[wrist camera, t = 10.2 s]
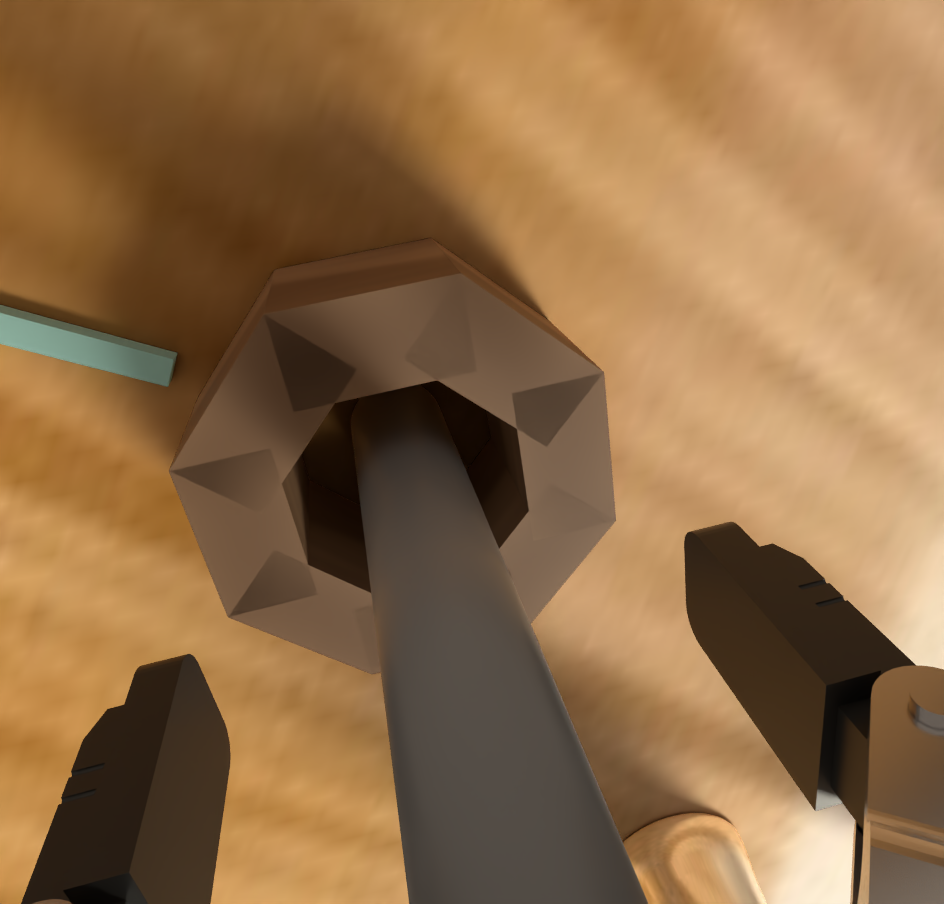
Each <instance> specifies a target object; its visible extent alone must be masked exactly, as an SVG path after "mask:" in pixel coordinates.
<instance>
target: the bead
mask: <svg viewBox="0 0 944 904" xmlns="http://www.w3.org/2000/svg"><path fill="white" fill-rule="evenodd" d="M436 380H438V381H439V382H441V383H443V384H444V385H446V386H448V387H449V388H451V389H452V390H454V391H456V392H457V393H459V394H461V395H462V396H464V397H466V398H467V399H469V400H470V401H472V402H474V403H475V404H477V405H479V406H480V407H482V408H484V409H485V410H486V412H487V418H488V424H489V430H490V436H491V438H490V440H489V441H488V442H487V444H486V445H485V446H484V448H483V449H482V450H481V452H480V453H479V454H478V456H477V457H476V459H475V460H474V461H473V463H472V464H471V465H470V467H469V468H468V469H467V471H466V472H467V474H468V476H469V479H470V481H471V483H472V486H473V488H474V491H475V493H476V495H477V498H478V500H479V502H480V505H481V507H482V510H483V512H484V514H485V517H486V519H487V521H488V524H489V526H490V529H491V531H492V533H493V536H494V538H495V540H496V543H497V545H498V548H499V550H500V552H501V555H502V557H503V559H504V562H505V564H506V567H507V569H508V571H509V574H510V576H511V578H512V581H513V583H514V586H515V588H516V590H517V593H518V595H519V597H520V600H521V602H522V605H523V607H524V609H525V612H526V614H527V616H528V619H529V621H530V624H531V623H532V622H533V620H534V619H535V618H536V617H537V616H538V614H539V613H540V612H541V611H542V610H543V608H544V607H545V606H546V605H547V604H548V602H549V601H550V600H551V599H552V597H553V596H554V595H555V594H556V593H557V591H558V590H559V589H560V588H561V587H562V585H563V584H564V583H565V582H566V581H567V579H568V578H569V577H570V576H571V574H572V573H573V572H574V571H575V570H576V568H577V567H578V566H579V565H580V564H581V562H582V561H583V560H584V559H585V558H586V556H587V555H588V554H589V553H590V551H591V550H592V549H593V548H594V547H595V545H596V544H597V543H598V542H599V541H600V539H601V538H602V537H603V536H604V534H605V533H606V532H607V531H608V530H609V528H610V527H611V526H612V525H613V524H614V522H615V521H616V515H615V502H614V490H613V477H612V465H611V452H610V440H609V428H608V415H607V403H606V390H605V378H604V372H603V371H602V370H601V369H600V368H599V367H598V366H597V365H596V364H595V363H594V362H593V361H591V360H590V359H589V358H588V357H587V356H586V355H585V354H584V353H583V352H582V351H581V350H580V349H579V348H578V347H577V346H575V345H574V344H573V343H572V342H571V341H570V340H569V339H568V338H567V337H566V336H565V335H564V334H563V333H562V332H561V331H560V330H558V329H557V328H556V327H555V326H554V325H553V324H552V323H551V322H550V321H549V320H547V319H546V318H544V317H543V316H542V315H540V314H539V313H537V312H536V311H534V310H533V309H532V308H530V307H529V306H527V305H526V304H524V303H523V302H522V301H520V300H519V299H517V298H516V297H515V296H513V295H512V294H510V293H509V292H507V291H506V290H505V289H503V288H502V287H500V286H499V285H497V284H496V283H495V282H493V281H492V280H490V279H489V278H487V277H486V276H485V275H483V274H482V273H480V272H479V271H477V270H476V269H475V268H473V267H472V266H470V265H469V264H468V263H466V262H465V261H463V260H462V259H460V258H459V257H458V256H456V255H455V254H453V253H452V252H450V251H449V250H448V249H446V248H445V247H443V246H442V245H440V244H439V243H438V242H436V241H435V240H433V239H432V238H428V239H423V240H418V241H413V242H408V243H403V244H398V245H393V246H388V247H383V248H378V249H373V250H368V251H363V252H359V253H354V254H349V255H344V256H339V257H334V258H329V259H324V260H319V261H314V262H309V263H304V264H299V265H294V266H289V267H284V268H280V269H275V270H274V271H273V273H272V275H271V276H270V278H269V280H268V281H267V283H266V285H265V286H264V288H263V290H262V291H261V293H260V295H259V296H258V298H257V300H256V301H255V303H254V305H253V306H252V308H251V310H250V311H249V313H248V315H247V316H246V318H245V320H244V321H243V323H242V325H241V326H240V328H239V330H238V331H237V333H236V335H235V336H234V338H233V340H232V341H231V343H230V345H229V346H228V348H227V350H226V351H225V353H224V355H223V356H222V358H221V360H220V361H219V363H218V365H217V366H216V368H215V370H214V372H213V373H212V375H211V377H210V378H209V380H208V382H207V383H206V385H205V387H204V388H203V390H202V392H201V393H200V395H199V397H198V399H197V401H196V404H195V406H194V409H193V411H192V414H191V416H190V419H189V421H188V424H187V426H186V429H185V432H184V434H183V437H182V439H181V442H180V444H179V447H178V449H177V452H176V454H175V457H174V459H173V462H172V464H171V467H170V470H169V473H170V475H171V478H172V480H173V483H174V485H175V488H176V490H177V492H178V495H179V497H180V500H181V502H182V505H183V507H184V510H185V512H186V515H187V517H188V520H189V522H190V525H191V527H192V530H193V532H194V535H195V537H196V539H197V542H198V544H199V547H200V549H201V552H202V554H203V557H204V559H205V562H206V564H207V567H208V569H209V572H210V574H211V577H212V579H213V581H214V584H215V586H216V589H217V591H218V594H219V596H220V599H221V601H222V604H223V606H224V609H225V611H226V614H227V616H228V617H229V618H231V619H234V620H236V621H239V622H241V623H244V624H246V625H249V626H251V627H254V628H256V629H259V630H261V631H264V632H266V633H269V634H271V635H274V636H277V637H279V638H282V639H284V640H287V641H289V642H292V643H294V644H297V645H299V646H302V647H304V648H307V649H309V650H312V651H314V652H317V653H319V654H322V655H324V656H327V657H330V658H332V659H335V660H337V661H340V662H342V663H345V664H347V665H350V666H352V667H355V668H357V669H360V670H362V671H365V672H367V673H370V674H375V673H379V672H381V668H380V660H379V652H378V644H377V636H376V628H375V620H374V611H373V603H372V595H371V587H370V579H369V571H368V563H367V554H366V546H365V538H364V530H363V522H362V514H361V506H360V505H358V504H356V503H354V502H352V501H350V500H348V499H346V498H344V497H342V496H340V495H338V494H336V493H334V492H332V491H330V490H328V489H326V488H324V487H322V486H320V485H318V484H316V483H314V482H312V481H310V480H309V477H308V474H307V470H306V467H305V464H304V460H303V457H302V452H303V451H304V449H305V448H306V446H307V445H308V443H309V442H310V440H311V439H312V437H313V436H314V434H315V433H316V431H317V430H318V428H319V427H320V425H321V423H322V422H323V420H324V419H325V417H326V416H327V414H328V413H329V411H330V410H331V408H332V407H333V405H334V404H335V403H337V402H342V401H346V400H351V399H355V398H360V397H364V396H369V395H373V394H378V393H382V392H387V391H391V390H396V389H400V388H405V387H409V386H414V385H418V384H423V383H427V382H432V381H436Z"/></svg>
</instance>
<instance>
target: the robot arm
mask: <svg viewBox="0 0 944 904" xmlns="http://www.w3.org/2000/svg"><path fill="white" fill-rule="evenodd" d="M684 551H685V583H686V608H687V614H688V618H689V622H690V625H691V628H692V631H693V633H694V635H695V637H696V639H697V641H698V643H699V644H700V646H701V647H702V649H703V650H704V652H705V653H706V654H707V656H708V657H709V659H710V660H711V662H712V663H713V665H714V666H715V667H716V669H717V670H718V672H719V673H720V675H721V676H722V677H723V679H724V680H725V682H726V683H727V685H728V686H729V688H730V689H731V690H732V692H733V693H734V695H735V696H736V698H737V699H738V701H739V702H740V703H741V705H742V706H743V708H744V709H745V711H746V712H747V713H748V715H749V716H750V718H751V719H752V721H753V722H754V724H755V725H756V726H757V728H758V729H759V731H760V732H761V734H762V735H763V736H764V738H765V739H766V741H767V742H768V744H769V745H770V747H771V748H772V749H773V751H774V752H775V754H776V755H777V757H778V758H779V760H780V761H781V762H782V764H783V765H784V767H785V768H786V770H787V771H788V772H789V774H790V775H791V777H792V778H793V780H794V781H795V783H796V784H797V785H798V787H799V788H800V790H801V791H802V793H803V794H804V795H805V797H806V798H807V800H808V801H809V803H810V804H811V806H812V807H813V808H814V810H815V811H818V810H821V809H825V808H828V807H832V806H835V805H839V804H842V803H843V804H844V805H845V807H846V808H847V809H848V811H849V812H850V814H851V815H852V816H853V818H854V819H855V827H854V838H853V859H852V879H851V900H850V904H944V670H943V669H939V668H935V667H928V666H916V665H915V664H914V663H913V662H912V661H911V660H910V659H909V658H908V657H907V656H906V655H905V654H904V653H903V652H901V651H900V650H899V649H898V648H897V647H896V646H895V645H894V644H893V643H892V642H891V641H890V640H889V639H888V638H887V637H886V636H885V635H884V634H882V633H881V632H880V631H879V630H878V629H877V628H876V627H875V626H874V625H873V624H872V623H871V622H870V621H869V620H868V619H867V618H866V617H865V616H864V615H862V614H861V613H860V612H859V611H858V610H857V609H856V608H855V607H854V606H853V605H852V604H851V603H850V602H849V601H848V600H847V601H845V600H844V599H843V596H842V595H841V594H840V593H839V592H838V591H837V590H836V589H835V588H834V587H833V586H832V585H831V584H830V583H828V584H827V583H826V582H825V579H824V578H823V577H822V576H821V575H820V574H819V573H818V572H817V571H816V570H815V569H814V568H813V567H812V566H811V565H810V564H809V563H808V562H807V561H805V560H804V559H803V558H801V557H799V556H797V555H795V554H793V553H791V552H789V551H787V550H785V549H783V548H781V547H779V546H776V545H774V544H769V545H765V546H761V547H759V546H758V545H757V544H756V543H755V542H754V541H753V540H752V539H751V538H750V537H749V536H748V535H747V534H746V533H745V532H744V531H743V530H742V529H741V527H740V526H738V525H737V524H736V523H734V522H727V523H723V524H719V525H715V526H711V527H707V528H703V529H699V530H695V531H691V532H688V533H687V534H686V536H685V541H684ZM229 769H230V744H229V737H228V733H227V729H226V725H225V723H224V720H223V718H222V716H221V713H220V711H219V709H218V707H217V704H216V702H215V700H214V698H213V695H212V693H211V691H210V689H209V686H208V684H207V682H206V680H205V677H204V675H203V673H202V671H201V668H200V666H199V664H198V662H197V660H196V659H195V657H194V656H193V655H191V654H187V655H183V656H179V657H175V658H171V659H167V660H162V661H158V662H154V663H150V664H146V665H142V666H140V667H139V668H138V669H137V670H136V672H135V674H134V677H133V680H132V683H131V686H130V689H129V692H128V695H127V698H126V701H125V704H124V705H122V706H118V707H114V708H110V709H107V711H106V712H105V713H104V714H103V716H102V717H101V718H100V719H99V721H98V722H97V723H96V724H95V726H94V727H93V728H92V729H91V731H90V732H89V733H88V734H87V736H86V737H85V738H84V739H83V742H82V744H81V747H80V750H79V752H78V755H77V757H76V760H75V763H74V765H73V768H72V771H71V772H72V777H70V778H69V779H68V781H67V784H66V786H65V789H64V792H63V794H62V797H61V798H62V804H59V805H58V808H57V810H56V813H55V815H54V818H53V821H52V823H51V826H50V829H49V831H48V834H47V837H46V839H45V842H44V845H43V847H42V850H41V852H40V855H39V858H38V860H37V863H36V866H35V868H34V871H33V874H32V876H31V879H30V881H29V884H28V887H27V889H26V892H25V895H24V897H23V900H22V903H21V904H210V902H211V895H212V888H213V881H214V874H215V867H216V860H217V853H218V846H219V839H220V832H221V825H222V818H223V811H224V804H225V797H226V790H227V783H228V776H229Z"/></svg>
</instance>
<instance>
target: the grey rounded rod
mask: <svg viewBox="0 0 944 904" xmlns="http://www.w3.org/2000/svg"><path fill="white" fill-rule="evenodd" d="M351 432H352V441H353V449H354V457H355V465H356V473H357V481H358V489H359V497H360V506H361V514H362V522H363V530H364V538H365V546H366V554H367V563H368V571H369V579H370V587H371V595H372V603H373V611H374V620H375V628H376V636H377V644H378V652H379V660H380V668H381V677H382V685H383V693H384V701H385V709H386V717H387V725H388V734H389V742H390V750H391V758H392V766H393V774H394V782H395V791H396V799H397V807H398V815H399V823H400V831H401V839H402V848H403V856H404V864H405V872H406V880H407V888H408V896H409V904H648V901H647V899H646V896H645V894H644V892H643V889H642V887H641V885H640V882H639V880H638V877H637V875H636V873H635V870H634V868H633V866H632V863H631V861H630V858H629V856H628V854H627V851H626V849H625V847H624V844H623V842H622V839H621V837H620V835H619V832H618V830H617V828H616V825H615V823H614V821H613V818H612V816H611V813H610V811H609V809H608V806H607V804H606V802H605V799H604V797H603V794H602V792H601V790H600V787H599V785H598V783H597V780H596V778H595V775H594V773H593V771H592V768H591V766H590V764H589V761H588V759H587V756H586V754H585V752H584V749H583V747H582V745H581V742H580V740H579V737H578V735H577V733H576V730H575V728H574V726H573V723H572V721H571V718H570V716H569V714H568V711H567V709H566V707H565V704H564V702H563V699H562V697H561V695H560V692H559V690H558V688H557V685H556V683H555V680H554V678H553V676H552V673H551V671H550V669H549V666H548V664H547V661H546V659H545V657H544V654H543V652H542V650H541V647H540V645H539V643H538V640H537V638H536V635H535V633H534V631H533V628H532V626H531V624H530V621H529V619H528V616H527V614H526V612H525V609H524V607H523V605H522V602H521V600H520V597H519V595H518V593H517V590H516V588H515V586H514V583H513V581H512V578H511V576H510V574H509V571H508V569H507V567H506V564H505V562H504V559H503V557H502V555H501V552H500V550H499V548H498V545H497V543H496V540H495V538H494V536H493V533H492V531H491V529H490V526H489V524H488V521H487V519H486V517H485V514H484V512H483V510H482V507H481V505H480V502H479V500H478V498H477V495H476V493H475V491H474V488H473V486H472V483H471V481H470V479H469V476H468V474H467V472H466V469H465V467H464V465H463V462H462V460H461V457H460V455H459V453H458V450H457V448H456V446H455V443H454V441H453V438H452V436H451V434H450V431H449V429H448V427H447V424H446V422H445V419H444V417H443V415H442V412H441V410H440V408H439V405H438V403H437V401H436V400H435V398H434V397H433V396H432V395H431V394H430V393H429V392H428V391H427V390H426V389H424V388H423V387H421V386H419V385H414V386H409V387H405V388H400V389H396V390H391V391H387V392H382V393H378V394H373V395H369V396H364V397H361V398H360V399H359V401H358V402H357V404H356V405H355V408H354V410H353V413H352V417H351Z"/></svg>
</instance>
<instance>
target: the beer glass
mask: <svg viewBox="0 0 944 904" xmlns="http://www.w3.org/2000/svg"><path fill="white" fill-rule="evenodd" d="M623 844H624V847H625V849H626V851H627V854H628V856H629V858H630V861H631V863H632V866H633V868H634V870H635V873H636V875H637V877H638V880H639V882H640V885H641V887H642V889H643V892H644V894H645V896H646V899H647V901H648V904H767V902H766V900H765V898H764V896H763V893H762V891H761V889H760V886H759V884H758V881H757V878H756V876H755V873H754V870H753V867H752V865H751V862H750V859H749V856H748V854H747V851H746V848H745V846H744V843H743V841H742V839H741V837H740V835H739V833H738V831H737V830H736V829H735V828H734V827H733V825H732V824H730V823H729V822H728V821H726V820H725V819H723V818H721V817H718V816H715V815H711V814H706V813H685V814H679V815H674V816H670V817H667V818H664V819H661V820H658V821H656V822H653V823H651V824H649V825H647V826H645V827H643V828H642V829H640V830H638V831H637V832H635V833H634V834H632V835H631V836H630V837H628V838H627V839H626V840H625V841H624V842H623Z"/></svg>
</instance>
